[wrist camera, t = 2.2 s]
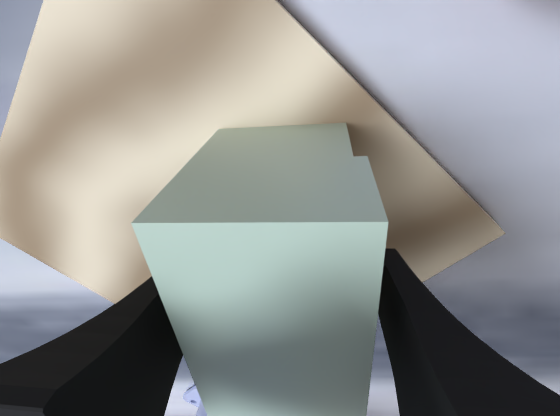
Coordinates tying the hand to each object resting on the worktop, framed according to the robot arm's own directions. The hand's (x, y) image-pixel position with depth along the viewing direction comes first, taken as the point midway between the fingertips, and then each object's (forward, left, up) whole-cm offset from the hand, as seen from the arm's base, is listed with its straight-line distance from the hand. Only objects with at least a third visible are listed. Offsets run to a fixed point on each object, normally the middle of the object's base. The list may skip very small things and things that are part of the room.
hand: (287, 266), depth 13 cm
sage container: (0, 0, -3) cm, 3 cm away
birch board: (+3, +3, -4) cm, 6 cm away
